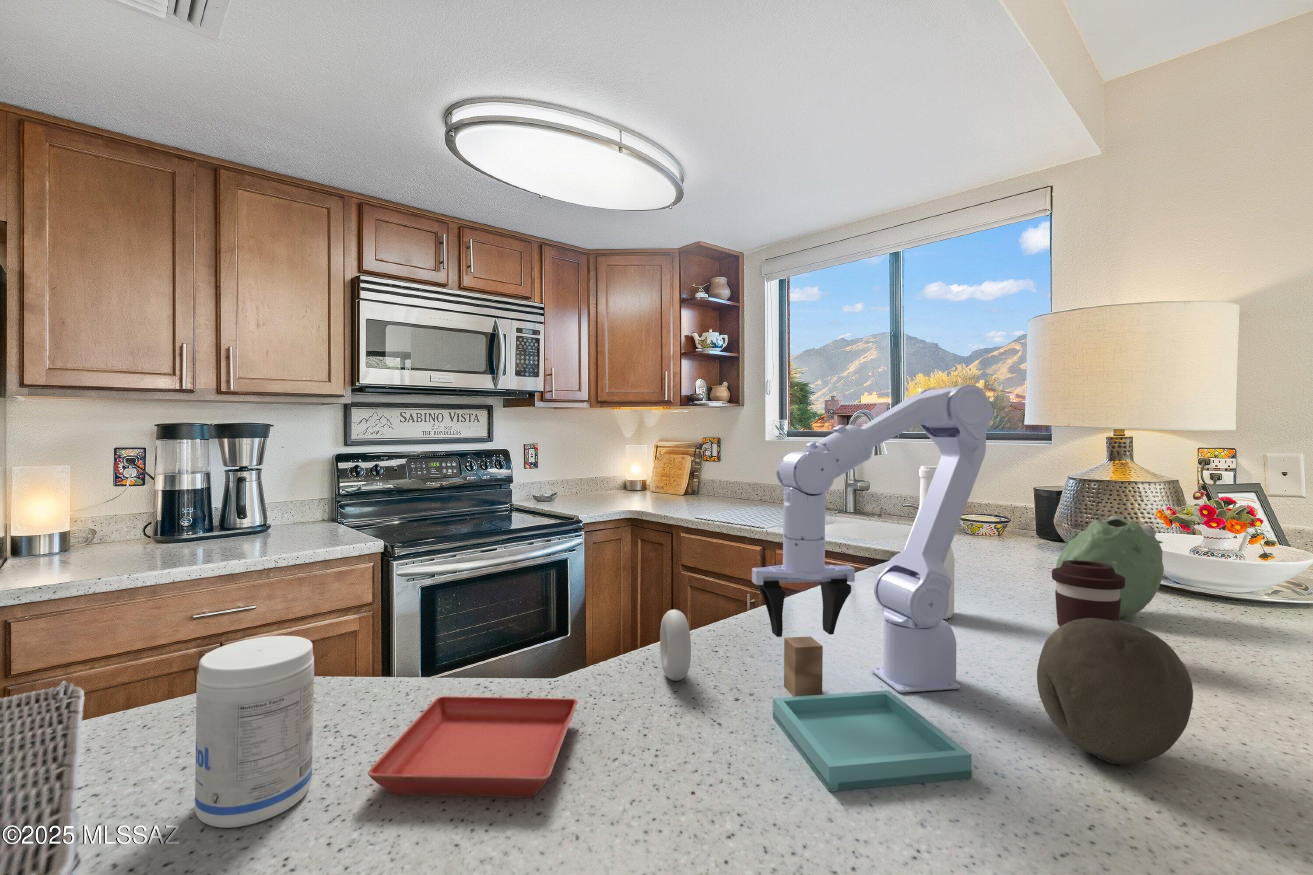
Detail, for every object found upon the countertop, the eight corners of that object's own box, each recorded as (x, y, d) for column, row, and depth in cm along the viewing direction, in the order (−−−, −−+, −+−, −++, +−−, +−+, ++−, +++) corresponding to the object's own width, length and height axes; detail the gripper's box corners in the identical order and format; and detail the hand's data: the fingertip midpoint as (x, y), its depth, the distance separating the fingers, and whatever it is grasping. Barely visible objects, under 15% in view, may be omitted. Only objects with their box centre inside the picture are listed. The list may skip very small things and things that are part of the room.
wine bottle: (963, 621, 117) (964, 467, 117) (914, 621, 117) (915, 467, 117) (940, 607, 126) (941, 465, 126) (895, 607, 126) (896, 465, 126)
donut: (693, 691, 84) (694, 620, 84) (669, 693, 83) (669, 621, 83) (679, 664, 94) (679, 600, 94) (657, 665, 93) (658, 601, 93)
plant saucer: (437, 719, 76) (437, 693, 76) (579, 722, 75) (579, 696, 75) (363, 808, 58) (363, 774, 58) (548, 813, 57) (549, 778, 57)
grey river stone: (1208, 806, 58) (1210, 653, 58) (1036, 763, 66) (1038, 627, 66) (1178, 744, 70) (1179, 616, 70) (1035, 713, 78) (1037, 598, 78)
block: (810, 684, 87) (810, 636, 87) (822, 696, 83) (822, 645, 83) (783, 686, 86) (784, 637, 86) (794, 698, 82) (795, 647, 82)
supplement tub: (183, 803, 58) (184, 651, 58) (292, 762, 65) (293, 627, 65) (211, 848, 52) (212, 678, 52) (329, 798, 59) (329, 648, 59)
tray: (888, 709, 79) (888, 690, 79) (971, 777, 63) (971, 754, 63) (772, 717, 76) (773, 697, 76) (828, 791, 61) (829, 766, 61)
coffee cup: (1058, 659, 97) (1059, 567, 97) (1045, 640, 106) (1046, 555, 106) (1133, 668, 93) (1134, 572, 93) (1112, 648, 103) (1113, 560, 103)
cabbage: (1036, 607, 127) (1037, 513, 127) (1108, 602, 131) (1109, 511, 131) (1107, 630, 112) (1108, 523, 112) (1186, 624, 116) (1187, 521, 116)
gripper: (764, 542, 79) (763, 645, 79) (866, 540, 82) (865, 640, 82) (747, 534, 86) (746, 628, 86) (842, 532, 88) (841, 624, 89)
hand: (802, 633), depth 84 cm, fingers open, 7 cm apart
